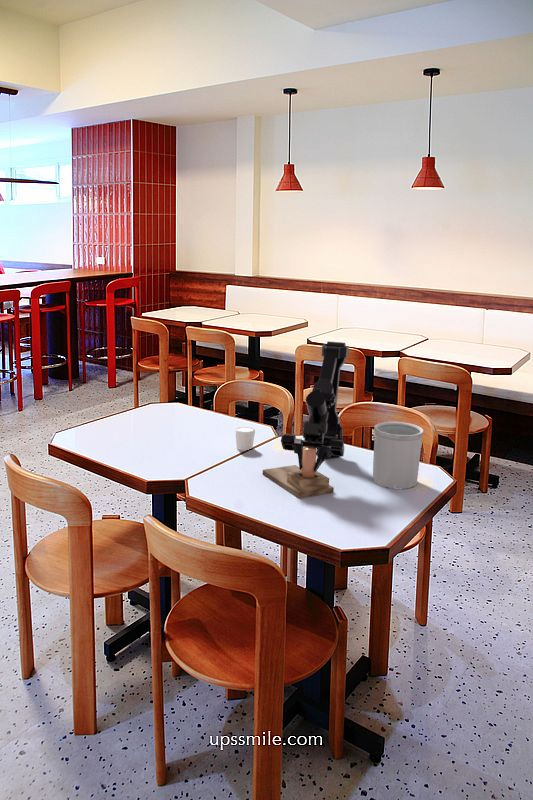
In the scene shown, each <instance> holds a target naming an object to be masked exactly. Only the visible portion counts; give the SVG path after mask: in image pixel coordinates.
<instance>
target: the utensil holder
mask: <svg viewBox="0 0 533 800" xmlns="http://www.w3.org/2000/svg"><path fill="white" fill-rule="evenodd" d="M373 428H374V429H373V431H374V440H373V441H374V442H373V443H374V444H373V462H372V463H373V465H372V481H373V482H374V483H375V484H376V485H378V486H380V485H381V486H380V487H383V486H384V487H383V488H386V487H389V488H388V489H392V488H397V489H396V490H401V489H400V488H408V489H410V488H409V487H412V486H414V485H415V486H417V483H418V478H419V470H420V469H419V467H420V460H421V450H422V441H423V440H422V439H423V436H424V432H425V431H424V429H423V428H422V427H421V426H419V425H417V424H414V423H408V422H404V421H403V422H401V421H383V422H378V423H376V424H375V425H374V427H373ZM415 486H414V487H415ZM398 488H399V489H398ZM412 488H413V487H412Z"/></svg>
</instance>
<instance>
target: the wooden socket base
mask: <svg viewBox="0 0 533 800" xmlns="http://www.w3.org/2000/svg"><path fill="white" fill-rule="evenodd" d="M264 475H265V476H264ZM301 475H302V469H301V470H300V468H299V466H298V465H295V464H293V465H292V464H291V465H286V466H280V467H279V466H277V467H274V468H272V467H271V468H266V469H262V476H264V477H266V478H267V477H268V479H269V480H270V481H272V482H273V483H275V484H277V485H278V486H279V487H281V488H283V489H284V490H286V492H289V493H290V494H292V495H293V496H294V497H296V498H298V499H303V498H310V497H314V496H321V495H327V494H333V493H334V491H335V488H334V487H335V486H334V487H333V486H332V485H330V477H328V476H326V475H324V474H323V473H321V472H319V471H318V470H317V471H316V472H315V478H309V479H305V478H303V477H301Z"/></svg>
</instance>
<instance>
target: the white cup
mask: <svg viewBox="0 0 533 800" xmlns="http://www.w3.org/2000/svg"><path fill="white" fill-rule="evenodd" d="M255 434H256V429H255V428H254V427H253V428H252V427H249V426H244V427H243V426H242V427H241V426H240V427H237V428H235V444H236V449H237V450H238V451H242V452H246V450H249V449H251V448H253V449H254V447H253V446H254V439H255ZM249 451H250V450H249Z"/></svg>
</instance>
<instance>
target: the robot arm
mask: <svg viewBox="0 0 533 800" xmlns="http://www.w3.org/2000/svg"><path fill="white" fill-rule="evenodd" d="M321 347H322V348H321V357H323V359H322V365H321V370H320V373H319V377H318V381H317V382H315V383H313V387H312V391H310V392H309V393H308V394H307V395H306V396H305V397H306V398H305V403H306V408H307V412H308V414H309V415H308V420H307V422H303V426H302V438H303V439H302V438H297V437H296V434H290V433H284V434H282V435H281V439H280V442H281V447H282V449H283V450H284V451H293V453H294V454H297V458H298V459H297V460H298V465H299V466H298V467H299V468H300V470H301V469H302V457H303V448H304V447H314V448H316V449H317V450H316V464H315V468H314V472H316V471H318V470H319V469H320V467H321V465H322V464H323V463H324V462H325V461H326V460H327V459H332V458H334V459H335V458H338V457H339V458H340V457H344V454H345V443H344V440H343V438H344V437H343V436H344V435H343V433H344V432H343V430H344V429H343V427H342V423H340V422H341V421H340V420H341V419H340V415H339V414H338V412H337V408H338V407H337V405H338V396H339V385H340V374H341V369H342V367H343V366H344V364H345V363H346V360H347V357H348V356H349V349H350V348H349V346H348V345H346V342H341V341H340V342H339V341H338V342H337V341H329V340H328V341H327V342H326V344H322V346H321Z"/></svg>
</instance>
